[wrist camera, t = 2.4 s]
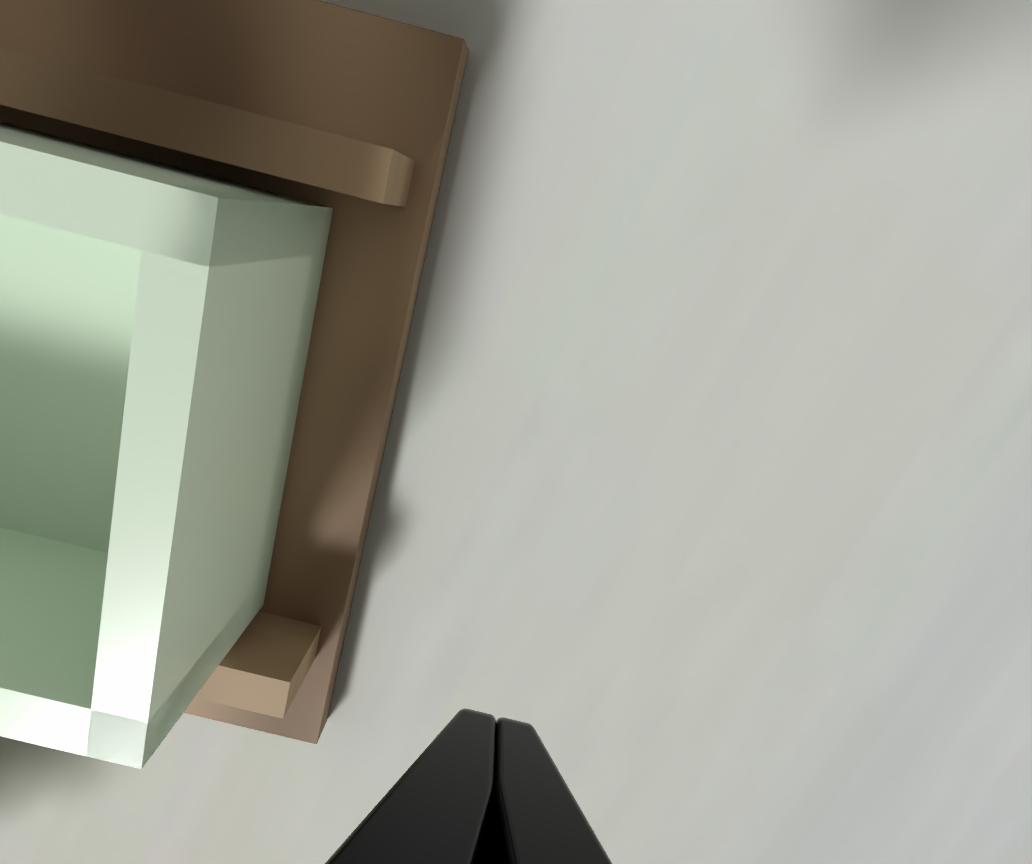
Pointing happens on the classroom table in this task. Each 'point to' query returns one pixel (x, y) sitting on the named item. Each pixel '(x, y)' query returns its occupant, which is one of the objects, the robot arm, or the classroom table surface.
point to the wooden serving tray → (347, 263)
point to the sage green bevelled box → (138, 431)
